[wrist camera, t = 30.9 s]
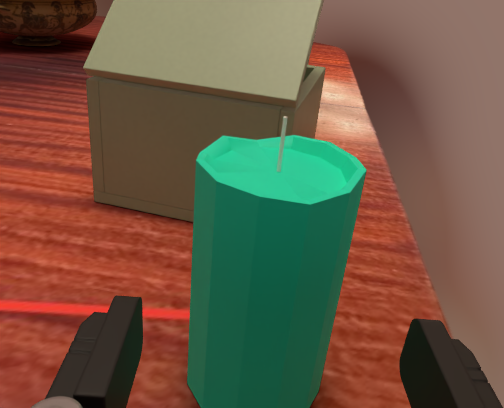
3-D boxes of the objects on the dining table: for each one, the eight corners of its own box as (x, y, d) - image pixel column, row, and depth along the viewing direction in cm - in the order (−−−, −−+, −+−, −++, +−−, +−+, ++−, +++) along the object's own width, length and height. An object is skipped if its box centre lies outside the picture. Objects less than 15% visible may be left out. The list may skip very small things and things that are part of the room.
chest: (177, 137, 48) (179, 46, 44) (310, 160, 46) (325, 67, 42) (93, 201, 35) (85, 79, 31) (277, 240, 32) (295, 112, 28)
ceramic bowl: (22, 26, 100) (16, -26, 96) (130, 39, 98) (129, -14, 93) (-92, 47, 74) (-109, -24, 69) (52, 65, 71) (45, -7, 67)
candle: (326, 345, 24) (376, 109, 18) (308, 450, 18) (372, 162, 13) (212, 316, 25) (227, 86, 19) (164, 408, 19) (167, 127, 14)
